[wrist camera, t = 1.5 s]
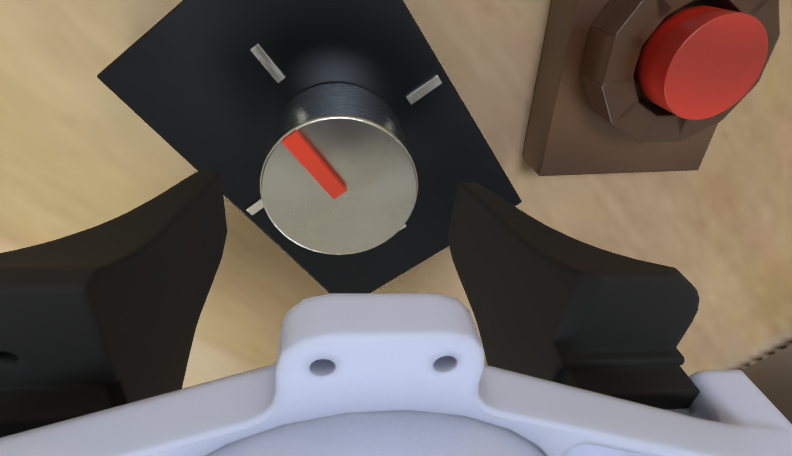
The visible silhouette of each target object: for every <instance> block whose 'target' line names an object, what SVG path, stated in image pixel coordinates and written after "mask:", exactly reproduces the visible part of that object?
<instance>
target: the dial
mask: <svg viewBox="0 0 792 456" xmlns="http://www.w3.org/2000/svg"><path fill="white" fill-rule="evenodd" d="M260 194H261V200H262V203H263V206H264V209H265V211H266V213H267V215H268V217H269V218H270V220H271V221H272V222H273V224H274V225H275V226H276V228H277V229H278V230H279V231H280V232H281V233H282V234H283V235H285V236H286V237H287V238H288V239H290V240H291V241H293V242H294V243H296V244H298V245H300V246H302V247H304V248H306V249H309V250H312V251H315V252H319V253H324V254H331V255H346V254H354V253H360V252H363V251H366V250H369V249H372V248H374V247H377V246H379V245H380V244H382V243H384V242H386V241H387V240H388V239H390V238H391V237H393V236H394V235H395V234H396V233H397V232H398V231H399V230H400V229H401V228H402V227H403V225H404V224H405V223H406V221H407V220H408V218H409V217H410V215H411V213H412V211H413V209H414V206H415V203H416V200H417V194H418V175H417V170H416V166H415V163H414V160H413V158H412V155H411V152H410V150H409V147H408V144H407V141H406V139H405V136H404V133H403V131H402V128H401V125H400V123H399V121H398V119H397V117H396V115H395V114H394V112H393V111H392V109H391V108H390V107H389V106H388V105H387V104H386V103H385V102H384V101H383V100H382V99H381V98H380V97H378V96H377V95H375V94H374V93H372V92H370V91H368V90H366V89H364V88H361V87H359V86H355V85H351V84H344V83H328V84H322V85H318V86H315V87H311V88H309V89H307V90H305V91H303V92H301V93H300V94H298V95H297V96H295V97H294V98H293V99H292V100H290V101H289V102H288V103H287V104H286V106H285V107H284V108H283V109H282V111H281V112H280V114H279V115H278V117H277V119H276V121H275V124H274V127H273V130H272V134H271V138H270V141H269V145H268V148H267V152H266V155H265V159H264V163H263V166H262V170H261V174H260Z"/></svg>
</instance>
